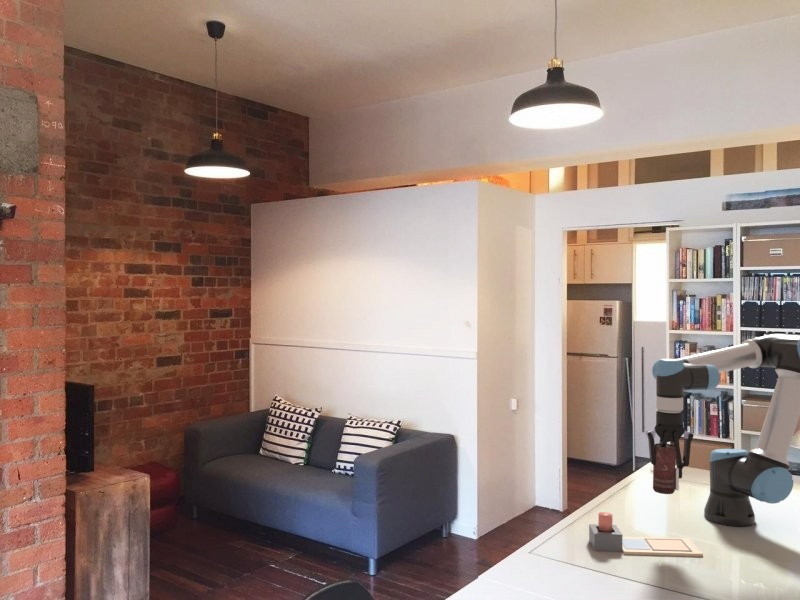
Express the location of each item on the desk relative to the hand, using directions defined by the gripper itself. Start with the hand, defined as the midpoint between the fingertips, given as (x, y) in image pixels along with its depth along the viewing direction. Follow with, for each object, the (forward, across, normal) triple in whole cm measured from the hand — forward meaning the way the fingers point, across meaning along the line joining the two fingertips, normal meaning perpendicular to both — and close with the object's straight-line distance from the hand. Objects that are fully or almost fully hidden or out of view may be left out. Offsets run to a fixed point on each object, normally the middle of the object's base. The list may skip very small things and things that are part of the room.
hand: (669, 488), depth 200 cm
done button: (+12, +19, +4) cm, 23 cm away
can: (+1, +1, 0) cm, 2 cm away
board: (+17, +4, +3) cm, 18 cm away
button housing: (+17, +19, +4) cm, 26 cm away
